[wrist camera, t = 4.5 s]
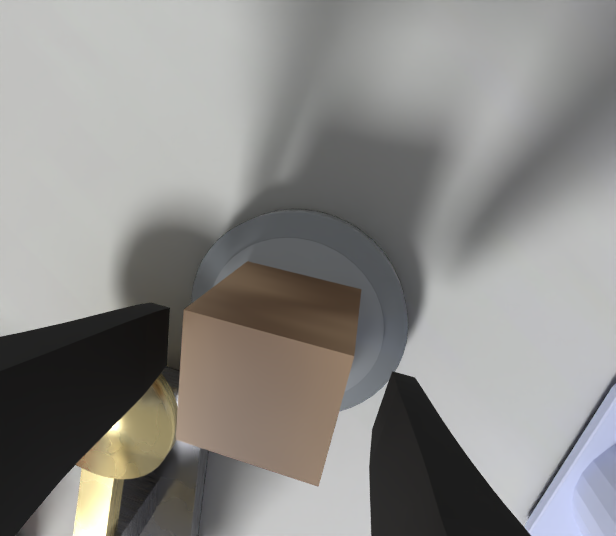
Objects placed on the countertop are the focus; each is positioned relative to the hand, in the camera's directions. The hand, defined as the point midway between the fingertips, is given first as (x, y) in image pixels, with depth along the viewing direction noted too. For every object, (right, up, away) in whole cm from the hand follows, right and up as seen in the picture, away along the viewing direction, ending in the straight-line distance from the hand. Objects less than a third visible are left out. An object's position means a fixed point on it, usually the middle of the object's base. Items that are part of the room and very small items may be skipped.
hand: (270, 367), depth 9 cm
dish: (+1, +1, +4) cm, 4 cm away
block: (0, +1, +2) cm, 3 cm away
